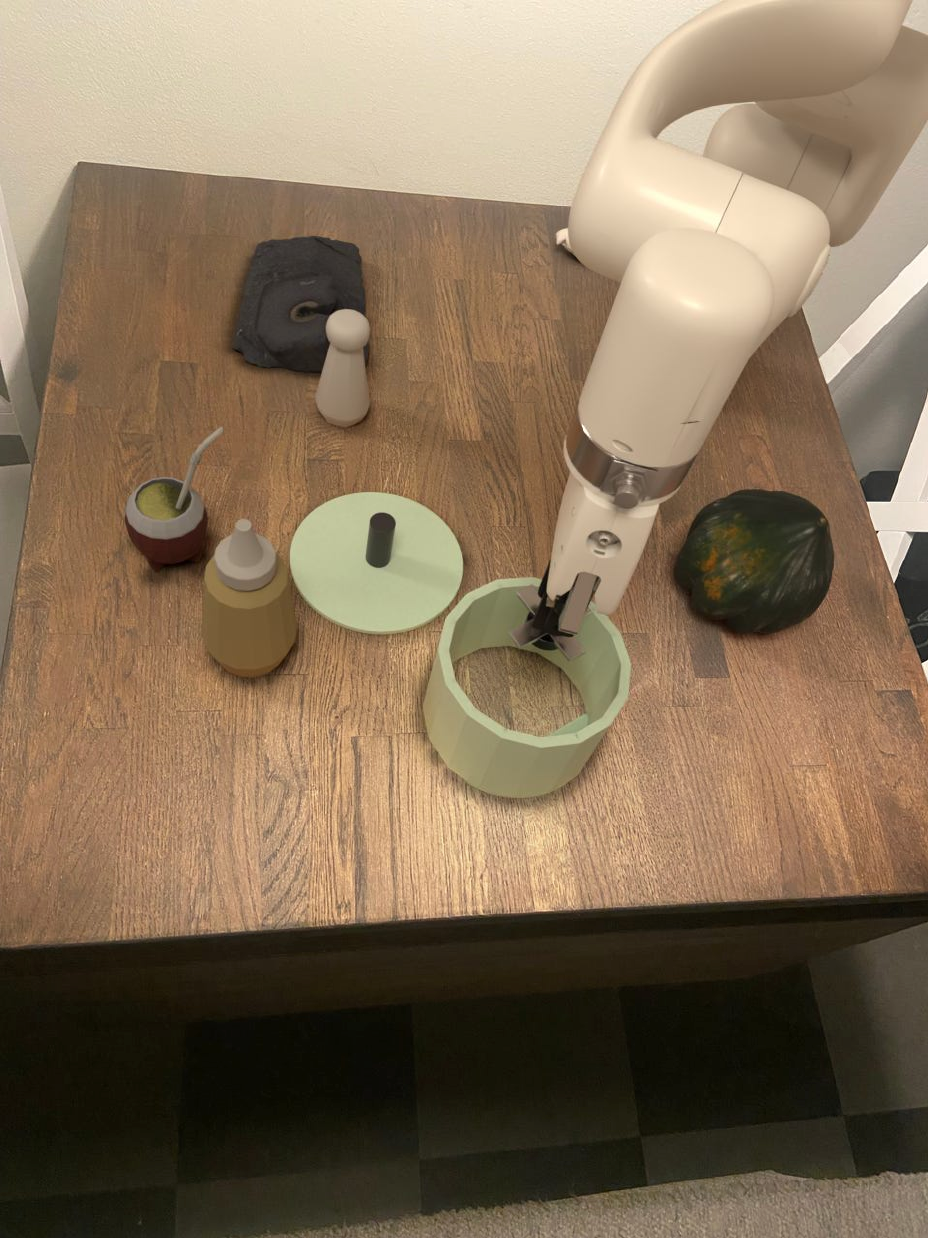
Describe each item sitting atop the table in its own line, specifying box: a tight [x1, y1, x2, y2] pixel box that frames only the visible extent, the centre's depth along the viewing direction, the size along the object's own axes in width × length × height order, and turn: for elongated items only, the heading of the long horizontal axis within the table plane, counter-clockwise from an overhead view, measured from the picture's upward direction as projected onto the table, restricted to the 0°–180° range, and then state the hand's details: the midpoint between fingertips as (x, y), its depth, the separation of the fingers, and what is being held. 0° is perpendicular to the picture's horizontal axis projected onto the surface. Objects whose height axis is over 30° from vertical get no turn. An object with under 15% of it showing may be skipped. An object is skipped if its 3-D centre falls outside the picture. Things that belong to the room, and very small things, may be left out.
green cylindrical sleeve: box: [422, 576, 632, 799], centre depth 78 cm, size 16×16×10 cm
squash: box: [672, 488, 835, 634], centre depth 90 cm, size 14×15×15 cm
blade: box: [508, 584, 591, 662], centre depth 68 cm, size 7×7×8 cm
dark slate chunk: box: [231, 235, 370, 374], centre depth 106 cm, size 15×22×5 cm
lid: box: [289, 491, 464, 636], centre depth 87 cm, size 17×17×7 cm
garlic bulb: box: [555, 227, 575, 256], centre depth 120 cm, size 6×6×5 cm
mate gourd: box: [124, 425, 225, 574], centre depth 80 cm, size 8×8×15 cm
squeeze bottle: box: [200, 518, 298, 678], centre depth 75 cm, size 8×8×18 cm
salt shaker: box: [314, 309, 371, 429], centre depth 94 cm, size 6×6×13 cm
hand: (555, 613), depth 69 cm, fingers closed on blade
